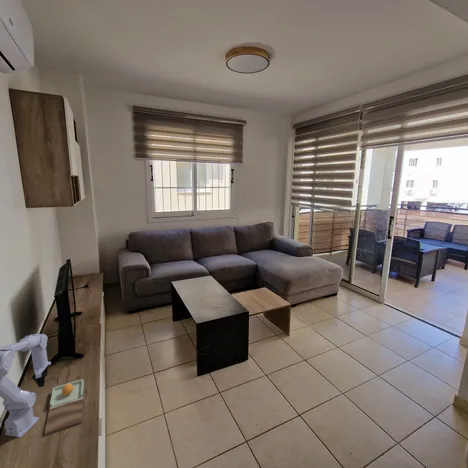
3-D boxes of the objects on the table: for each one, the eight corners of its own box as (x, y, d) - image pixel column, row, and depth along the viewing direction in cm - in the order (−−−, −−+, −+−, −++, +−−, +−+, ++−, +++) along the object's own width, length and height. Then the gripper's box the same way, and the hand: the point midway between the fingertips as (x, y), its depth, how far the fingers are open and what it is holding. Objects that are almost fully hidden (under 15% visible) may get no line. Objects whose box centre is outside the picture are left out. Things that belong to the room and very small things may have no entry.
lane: (81, 423, 119) (81, 421, 119) (44, 435, 113) (44, 433, 112) (84, 383, 143) (84, 381, 142) (53, 391, 136) (53, 390, 136)
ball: (68, 398, 131) (67, 390, 130) (59, 396, 132) (58, 388, 130) (76, 390, 136) (75, 382, 135) (67, 389, 136) (66, 381, 135)
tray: (82, 397, 132) (82, 394, 132) (50, 407, 126) (49, 404, 125) (84, 381, 142) (83, 378, 142) (53, 390, 136) (53, 387, 136)
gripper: (47, 363, 124) (50, 388, 127) (51, 346, 137) (54, 369, 139) (28, 368, 121) (32, 393, 123) (35, 350, 133) (38, 373, 136)
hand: (43, 381), depth 131 cm, fingers open, 7 cm apart
